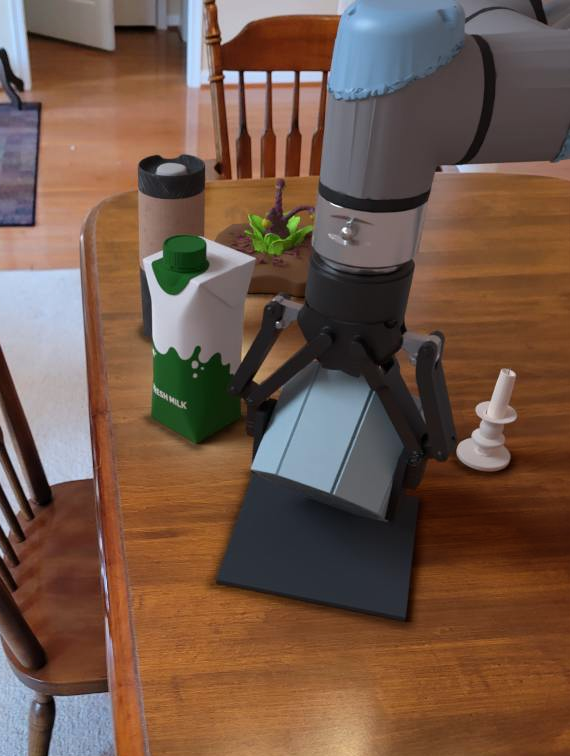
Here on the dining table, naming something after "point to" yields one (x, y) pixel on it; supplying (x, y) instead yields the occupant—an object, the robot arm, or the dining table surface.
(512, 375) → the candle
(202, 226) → the travel mug
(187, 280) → the milk carton
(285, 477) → the pail
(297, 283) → the plant
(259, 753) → the dining table surface
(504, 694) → the dining table surface
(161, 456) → the dining table surface
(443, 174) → the dining table surface
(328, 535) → the mat
